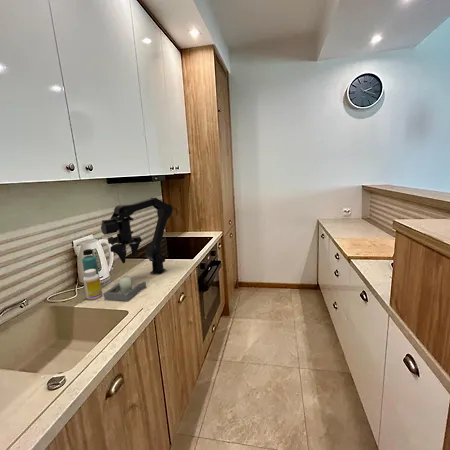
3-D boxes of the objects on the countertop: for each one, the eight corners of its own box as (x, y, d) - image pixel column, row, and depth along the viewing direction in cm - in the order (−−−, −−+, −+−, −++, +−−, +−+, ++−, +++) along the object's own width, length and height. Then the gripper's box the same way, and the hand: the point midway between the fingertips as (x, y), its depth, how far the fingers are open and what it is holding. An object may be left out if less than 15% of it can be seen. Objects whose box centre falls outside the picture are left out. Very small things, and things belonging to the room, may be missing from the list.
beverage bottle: (85, 292, 126) (78, 252, 122) (88, 286, 132) (81, 248, 128) (99, 289, 127) (93, 250, 123) (102, 284, 134) (96, 247, 130)
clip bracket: (121, 285, 131) (121, 280, 130) (146, 287, 127) (146, 281, 127) (102, 299, 117) (101, 293, 117) (129, 301, 114) (129, 295, 113)
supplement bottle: (105, 294, 122) (101, 269, 119) (92, 301, 116) (87, 274, 113) (96, 292, 125) (92, 267, 122) (83, 298, 119) (78, 272, 117)
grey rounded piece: (125, 289, 126) (123, 276, 125) (134, 290, 125) (132, 276, 124) (118, 294, 121) (116, 280, 120) (128, 295, 120) (126, 281, 119)
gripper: (121, 226, 140) (125, 253, 144) (98, 235, 123) (103, 266, 126) (140, 226, 138) (143, 254, 141) (118, 235, 120) (123, 266, 123)
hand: (129, 259), depth 133 cm, fingers open, 9 cm apart
